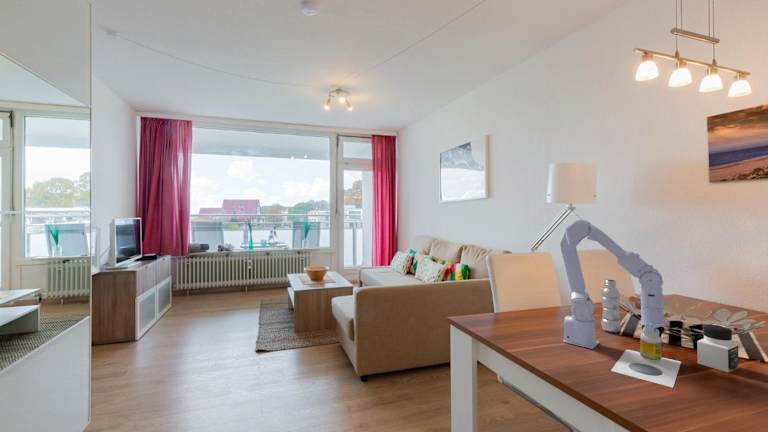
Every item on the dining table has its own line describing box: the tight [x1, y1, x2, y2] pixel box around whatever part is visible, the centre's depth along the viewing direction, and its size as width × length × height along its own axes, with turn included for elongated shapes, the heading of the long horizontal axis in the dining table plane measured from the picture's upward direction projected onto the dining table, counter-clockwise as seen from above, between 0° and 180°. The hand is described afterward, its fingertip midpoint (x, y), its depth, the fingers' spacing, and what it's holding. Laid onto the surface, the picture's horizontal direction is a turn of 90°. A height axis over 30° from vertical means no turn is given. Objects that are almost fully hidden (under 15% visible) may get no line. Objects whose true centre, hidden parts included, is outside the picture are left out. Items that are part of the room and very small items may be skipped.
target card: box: [610, 349, 682, 388], centre depth 102 cm, size 14×22×1 cm, turn 134°
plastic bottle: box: [600, 279, 622, 333], centre depth 132 cm, size 6×7×20 cm
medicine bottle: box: [696, 323, 740, 374], centre depth 102 cm, size 7×7×12 cm
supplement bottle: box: [639, 327, 663, 362], centre depth 106 cm, size 5×5×10 cm
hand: (654, 349), depth 108 cm, fingers closed, pressing on supplement bottle
